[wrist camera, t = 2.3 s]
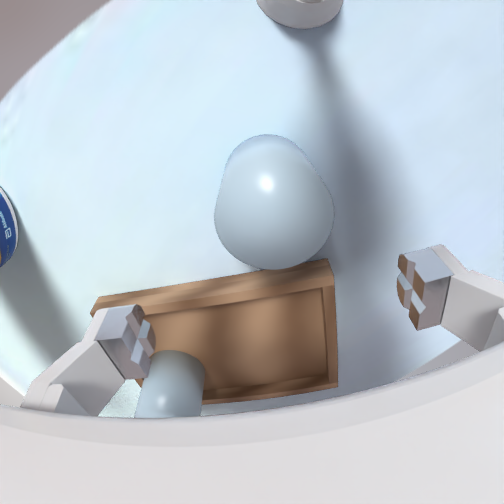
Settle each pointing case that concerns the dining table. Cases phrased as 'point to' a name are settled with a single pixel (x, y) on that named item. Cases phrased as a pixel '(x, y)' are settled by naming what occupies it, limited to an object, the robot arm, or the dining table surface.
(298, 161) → the grey rounded piece
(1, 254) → the beverage bottle
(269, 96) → the dining table surface
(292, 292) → the tray
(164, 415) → the white rounded capsule
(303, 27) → the chalice
